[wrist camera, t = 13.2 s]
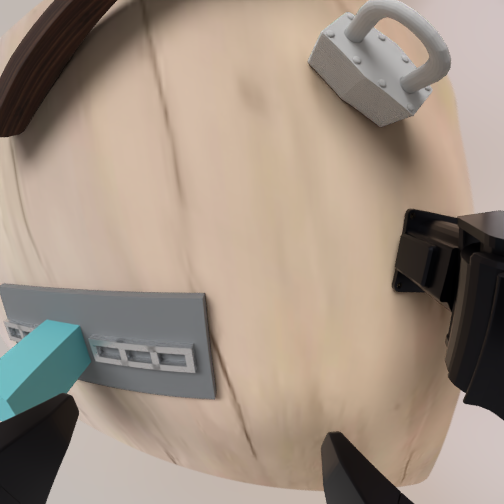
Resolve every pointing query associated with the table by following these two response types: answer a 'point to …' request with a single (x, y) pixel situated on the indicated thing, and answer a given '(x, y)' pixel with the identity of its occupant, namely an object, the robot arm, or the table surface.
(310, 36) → the table surface
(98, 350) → the steel chain
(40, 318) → the rubber mat
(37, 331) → the teal block
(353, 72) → the padlock
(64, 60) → the hammer
